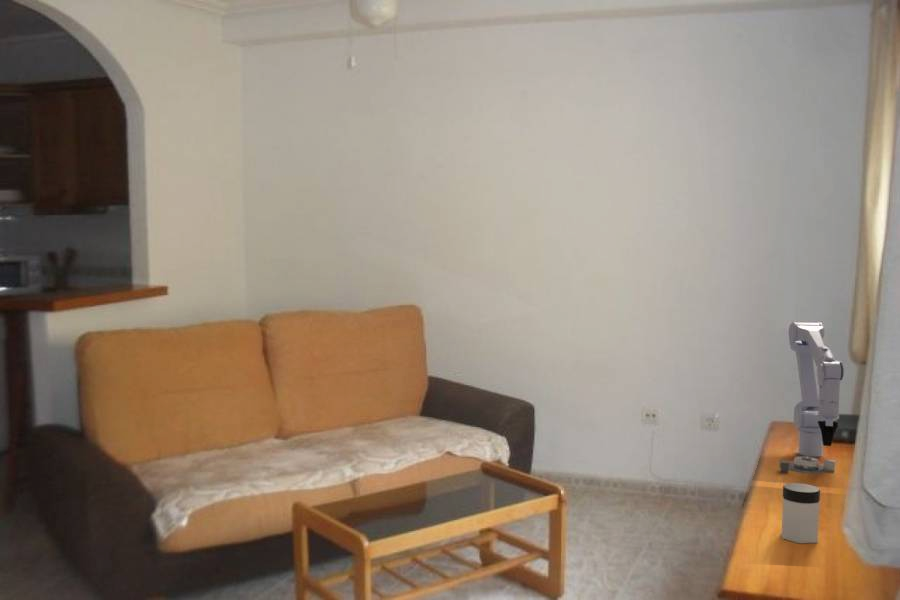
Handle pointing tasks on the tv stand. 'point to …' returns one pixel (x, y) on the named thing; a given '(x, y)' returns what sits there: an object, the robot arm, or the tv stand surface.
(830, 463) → the turntable
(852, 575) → the tv stand surface
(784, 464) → the stacked blocks
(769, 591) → the tv stand surface
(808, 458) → the cover
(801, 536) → the jar
